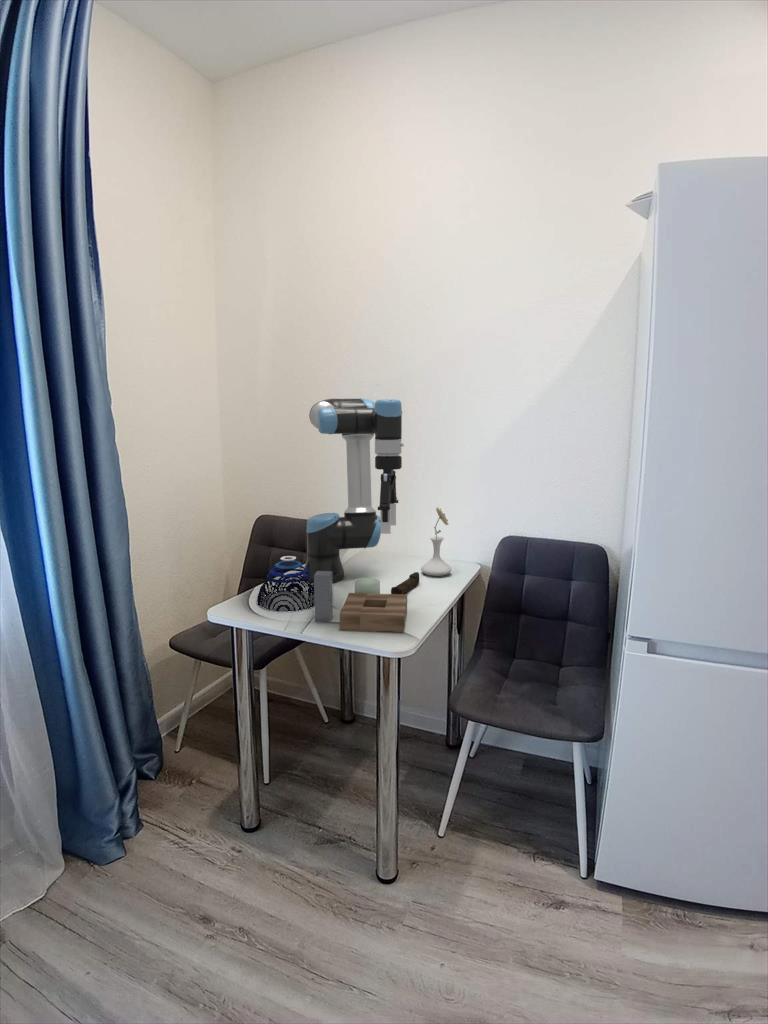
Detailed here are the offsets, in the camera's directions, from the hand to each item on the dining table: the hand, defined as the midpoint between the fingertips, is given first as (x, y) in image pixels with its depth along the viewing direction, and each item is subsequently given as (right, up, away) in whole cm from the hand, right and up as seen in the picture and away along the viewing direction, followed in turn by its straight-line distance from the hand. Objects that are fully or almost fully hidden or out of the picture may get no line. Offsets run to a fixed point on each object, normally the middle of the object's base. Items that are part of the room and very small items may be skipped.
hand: (388, 529), depth 164 cm
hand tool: (+6, -22, +31) cm, 39 cm away
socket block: (-4, -27, +3) cm, 27 cm away
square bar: (-19, -27, +4) cm, 33 cm away
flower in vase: (+18, -18, +51) cm, 57 cm away
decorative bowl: (-32, -24, +20) cm, 44 cm away
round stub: (-7, -24, +18) cm, 31 cm away
